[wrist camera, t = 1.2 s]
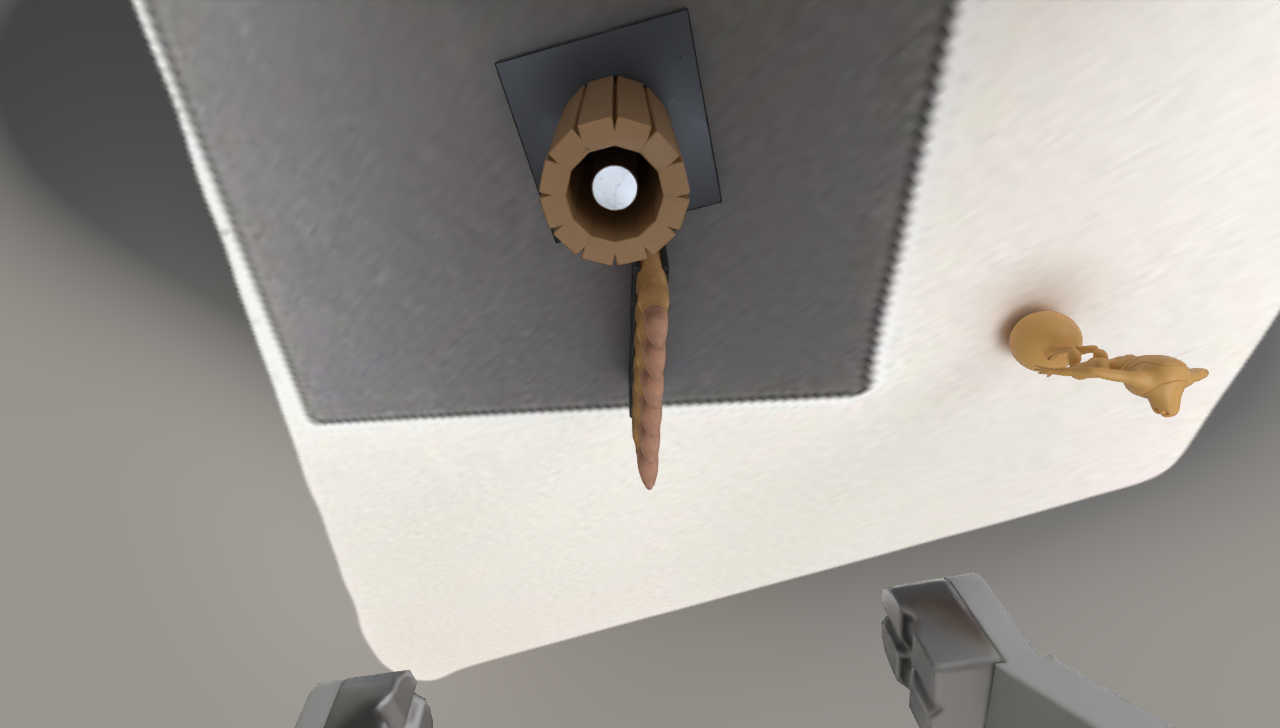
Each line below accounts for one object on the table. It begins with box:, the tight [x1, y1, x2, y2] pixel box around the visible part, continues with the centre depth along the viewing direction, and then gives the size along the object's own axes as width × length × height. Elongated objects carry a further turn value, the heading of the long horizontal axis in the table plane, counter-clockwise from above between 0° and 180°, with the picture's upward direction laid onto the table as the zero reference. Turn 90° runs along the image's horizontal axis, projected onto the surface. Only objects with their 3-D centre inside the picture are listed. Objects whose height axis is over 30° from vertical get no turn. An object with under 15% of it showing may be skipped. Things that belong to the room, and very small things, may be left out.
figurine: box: [1009, 311, 1209, 417], centre depth 36 cm, size 8×6×12 cm
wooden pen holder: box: [539, 76, 690, 266], centre depth 29 cm, size 6×6×10 cm
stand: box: [495, 7, 722, 243], centre depth 30 cm, size 10×10×10 cm
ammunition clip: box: [628, 245, 669, 490], centre depth 35 cm, size 11×2×12 cm, turn 178°
